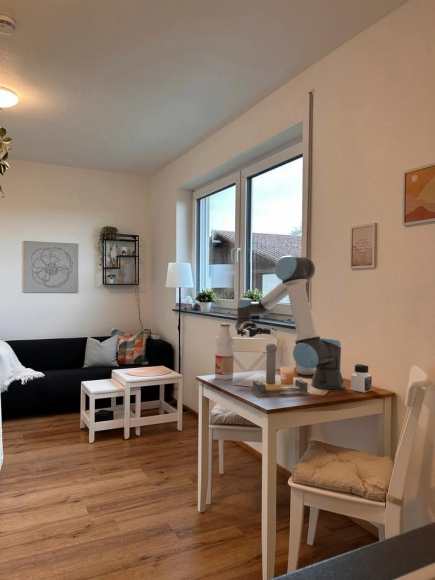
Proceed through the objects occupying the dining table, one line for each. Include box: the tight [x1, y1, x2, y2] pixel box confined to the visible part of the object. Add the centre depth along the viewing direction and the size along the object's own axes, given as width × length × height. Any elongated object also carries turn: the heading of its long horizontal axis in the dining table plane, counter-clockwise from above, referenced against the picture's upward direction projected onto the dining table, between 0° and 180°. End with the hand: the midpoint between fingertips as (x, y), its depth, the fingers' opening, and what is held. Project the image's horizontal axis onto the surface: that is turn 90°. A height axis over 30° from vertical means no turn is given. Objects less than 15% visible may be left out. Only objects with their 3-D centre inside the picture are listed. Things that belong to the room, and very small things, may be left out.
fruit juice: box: [214, 323, 235, 381], centre depth 221 cm, size 9×9×28 cm
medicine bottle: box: [350, 363, 373, 394], centre depth 201 cm, size 7×7×12 cm
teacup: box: [294, 360, 316, 376], centre depth 238 cm, size 14×11×8 cm
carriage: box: [260, 342, 282, 390], centre depth 191 cm, size 7×7×20 cm
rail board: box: [250, 378, 310, 398], centre depth 192 cm, size 23×12×5 cm, turn 103°
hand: (262, 333), depth 203 cm, fingers open, 13 cm apart
